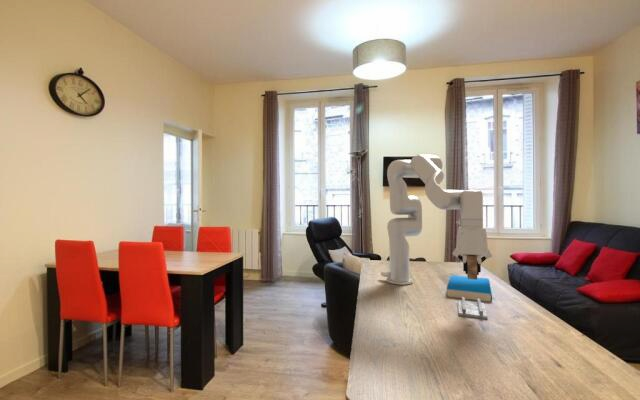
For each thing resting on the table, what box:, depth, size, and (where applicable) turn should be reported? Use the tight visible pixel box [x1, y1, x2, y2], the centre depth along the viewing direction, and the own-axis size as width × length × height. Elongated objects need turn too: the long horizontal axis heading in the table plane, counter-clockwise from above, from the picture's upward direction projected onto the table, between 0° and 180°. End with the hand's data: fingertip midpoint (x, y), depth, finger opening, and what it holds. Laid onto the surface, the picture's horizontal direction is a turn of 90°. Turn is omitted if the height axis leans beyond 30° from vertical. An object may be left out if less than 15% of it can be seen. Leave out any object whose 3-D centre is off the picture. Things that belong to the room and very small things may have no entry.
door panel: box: [466, 255, 478, 280], centre depth 117 cm, size 3×8×8 cm, turn 157°
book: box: [446, 274, 493, 302], centre depth 142 cm, size 17×4×25 cm
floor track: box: [457, 297, 488, 320], centre depth 117 cm, size 15×9×2 cm, turn 157°
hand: (471, 273), depth 117 cm, fingers closed on door panel, 3 cm apart
